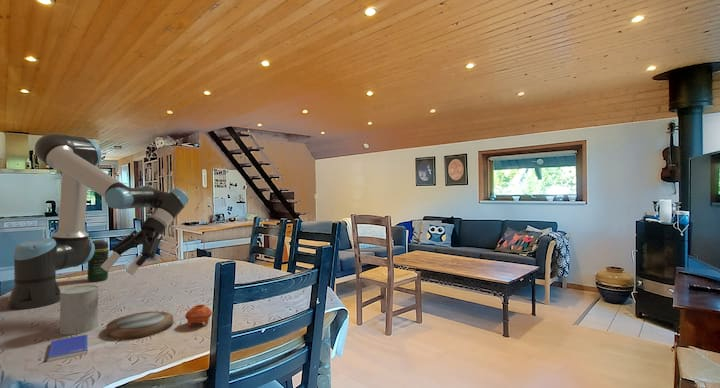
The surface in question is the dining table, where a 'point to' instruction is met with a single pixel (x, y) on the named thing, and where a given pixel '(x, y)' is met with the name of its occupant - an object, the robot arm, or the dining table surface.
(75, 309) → the grey cylinder
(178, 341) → the dining table surface
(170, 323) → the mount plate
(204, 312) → the pot
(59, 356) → the blue flat block
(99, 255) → the coffee jar
